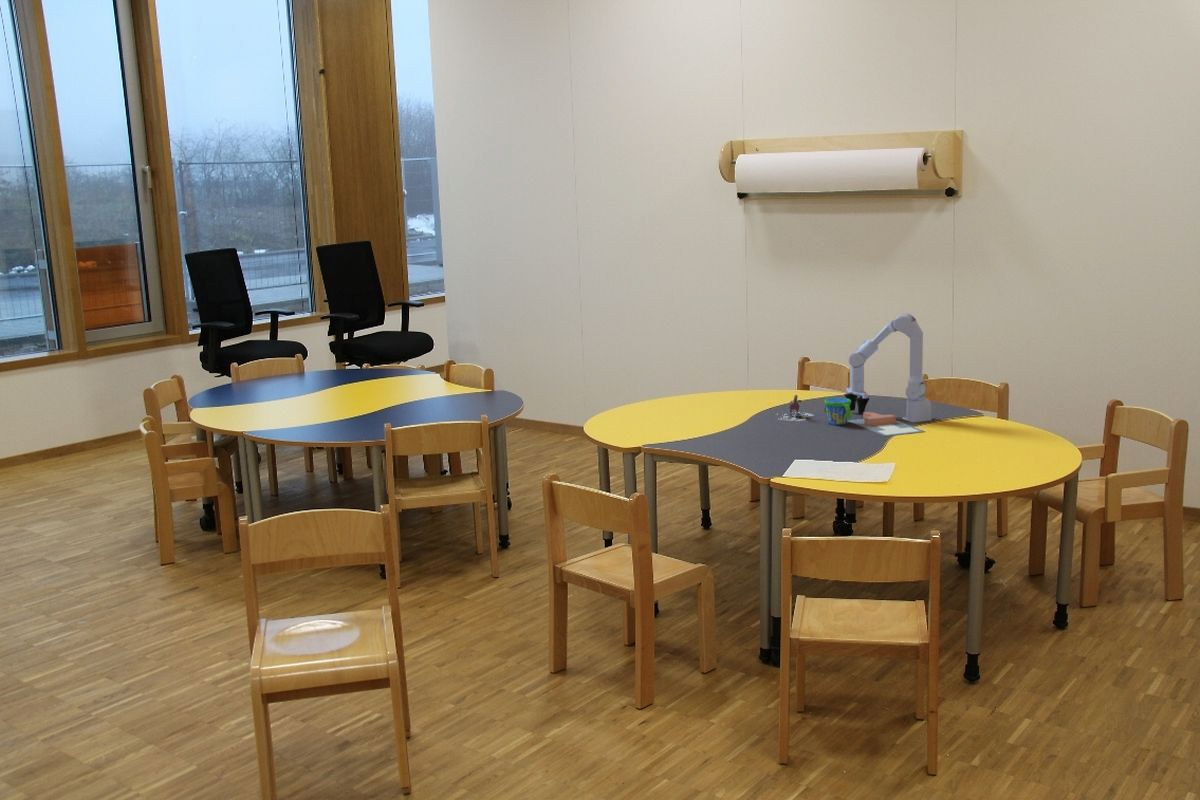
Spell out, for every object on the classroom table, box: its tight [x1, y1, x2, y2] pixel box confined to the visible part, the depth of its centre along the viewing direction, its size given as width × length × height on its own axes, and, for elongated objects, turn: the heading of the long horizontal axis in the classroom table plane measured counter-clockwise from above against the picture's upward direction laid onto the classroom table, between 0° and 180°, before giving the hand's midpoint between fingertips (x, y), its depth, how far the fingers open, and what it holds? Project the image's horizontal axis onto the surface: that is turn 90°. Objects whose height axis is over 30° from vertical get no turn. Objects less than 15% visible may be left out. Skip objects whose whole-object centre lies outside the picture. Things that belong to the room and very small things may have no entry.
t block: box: [862, 411, 897, 426], centre depth 465 cm, size 12×12×3 cm
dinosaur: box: [776, 394, 815, 422], centre depth 481 cm, size 18×18×11 cm
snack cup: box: [823, 396, 852, 426], centre depth 464 cm, size 16×10×10 cm
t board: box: [847, 418, 926, 438], centre depth 458 cm, size 18×30×1 cm, turn 17°
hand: (856, 412), depth 479 cm, fingers open, 7 cm apart
